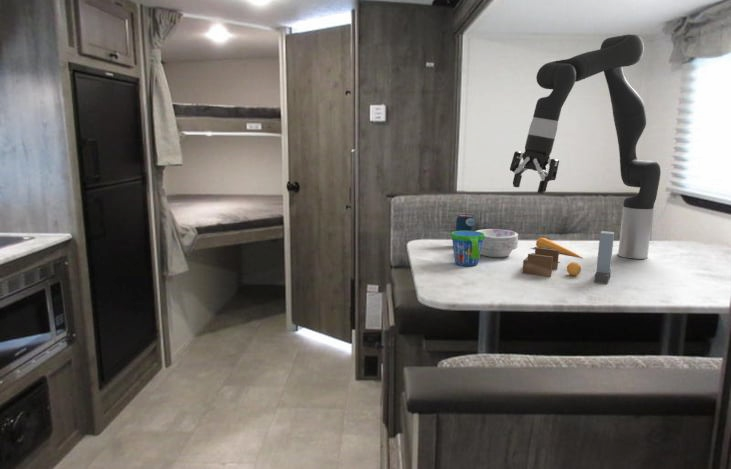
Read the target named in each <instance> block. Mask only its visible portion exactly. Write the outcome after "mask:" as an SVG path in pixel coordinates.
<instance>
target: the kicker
mask: <svg viewBox="0 0 731 469" xmlns="http://www.w3.org/2000/svg"><path fill="white" fill-rule="evenodd" d="M614 238H615V231H607V230H606V231H605V230H601V231H600V233H599V239H598V240H599V243H598V250H597V262H596V270H595V274H594V280H593V281H594V282H593V283H598V284H603V285H604V284H605V285H608V283H609V281H610V278H611V274H612V273H611V271H612V268H611V266H612V258H613V250H614V249H613V247H614Z"/></svg>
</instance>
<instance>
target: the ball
mask: <svg viewBox="0 0 731 469" xmlns="http://www.w3.org/2000/svg"><path fill="white" fill-rule="evenodd" d="M581 271H582V267H581V265H580V264H579V263H578V262H575V261H573V262H569V263H568V264H567V266H566V272H567V273H568V274H569V275H570V276H579V274H580V273H581Z"/></svg>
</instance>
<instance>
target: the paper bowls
mask: <svg viewBox="0 0 731 469" xmlns="http://www.w3.org/2000/svg"><path fill="white" fill-rule="evenodd" d="M476 231H477V232H482V233H484V235H485V238H484V240H483V242H482V248H481V253H480V255H482V256H485V257H490V258H505V257H508V256H510V255H511V253H512V251H513V250H516V249H517V248H518V244H519V233H517V231H516V232H515V231H513V230H508V229H498V228H485V229H478V230H476Z"/></svg>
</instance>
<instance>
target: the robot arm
mask: <svg viewBox="0 0 731 469" xmlns="http://www.w3.org/2000/svg"><path fill="white" fill-rule="evenodd" d="M644 50H645V44H644V41H643V38H642V37H641V36H640V35H638V34H632V33H629V34H623V35H618V36H617V35H616V36H611V37H607V38H606V39H604V40H603V41H602V43H601V44H600V49H596V50H595V49H594V50H591V51H586V52H583V53H580V54H578V55H575V56H572V57H570V58H567V59H559V60H554V61H549V62H547V63H544V64H543V65H541V67H539V69H538V71H537V73H536V77H535V78H536V82H537V84H538V86H539V87H541V88H543V89H544V90H551V92H550V94H549V95H546V96H544V97H543V96H542V97H540V98H538V100H537V101H536V104H535V108H534V113H533V116H532V117H533V118H532V120H531V122H530V124H529V129H528V132H527V136H526V140H525V141H526V142H525V144H524V145H525V146H524V152H522V151H514V153H513V156H512V161H511V164H510V167H509V170H510V172H512V173H514V175H513V181H512V186H513V187H514V188H520V186H521V182H522V179H523V175H522V174H524V173H525V171H527V170H532V171H537V173H538V175H539V177H540V181H539V183H538V184H539V185H538V188H537V194H539V195H543V194H544V193H546V191H547V187H548V183H549V182H551V181H555V180H556V178H557V174H558V169H559V165H560V159H558V158H557V159H556V158H550V155H551V153H552V150H553V147H554V143H555V140H556V135H557V132H558V131H557V130H558V126H559V125H558V123H559V121H560V120H559V119H560V116H561V111H562V108H563V106H564V104H565V103H566V101H567V99H568V97H569V95H570V92H571V91H572V89H573V88H574V85H575V84H576V83H577V82H580V81H583V80H585V79H588V78H590V77H592V76H595V75H597V74H600V73H602V72H603V73H604V77H605V81H606V84H607V87H608V88H607V89H608V93H609V97H610V102H611V110H612V117H613V121H614V127H615V132H616V137H617V144H618V153H619V167H620V168H619V169H620V177H621V181H622V182H623V184H624V185H625V186H626V187H631V188H639V190H638V193H637V194H635V195H633V196H629V197H625V198H624V200H623V204H622V205H623V206H622V215H621V223H620V225H621V226H620V233H619V241H618V242H619V243H618V252H617V255H618V256H619V257H623V258H629V259H635V260H637V259H638V260H639V259H641V260H643V259H644V260H645V259H647V258H648V256H649V249H650V248H649V247H650V241H651V240H650V239H651V232H652V224H653V216H654V215H653V214H654V208H655V203H656V200H657V197H658V196H657V195H658V191H659V185H660V181H661V180H660V179H661V166H660V164H659V163H658V162H657V161H654V160H645V159H644V160H642V159H641V160H640V159H638V157H637V149H636V148H637V144H638V142H639V140H640V138H641V137H642V134H643V133H644V130H645V128H646V126H647V114H646V107H645V103H644V100H643V99H642V97H641V96H640V95H639V94H638V92H637V91H636V90H635V89H634V88H633V87H632V86H631V84H630V83H629V82H628V81H627V79H626V77H625V74H624V70H623V68H624V67H630V66H634V65H635V64H637V63H638V62H640V60H641V59H642V58H643V55H644ZM521 160H522V162H521ZM547 165H548V166H549V167H547Z"/></svg>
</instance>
